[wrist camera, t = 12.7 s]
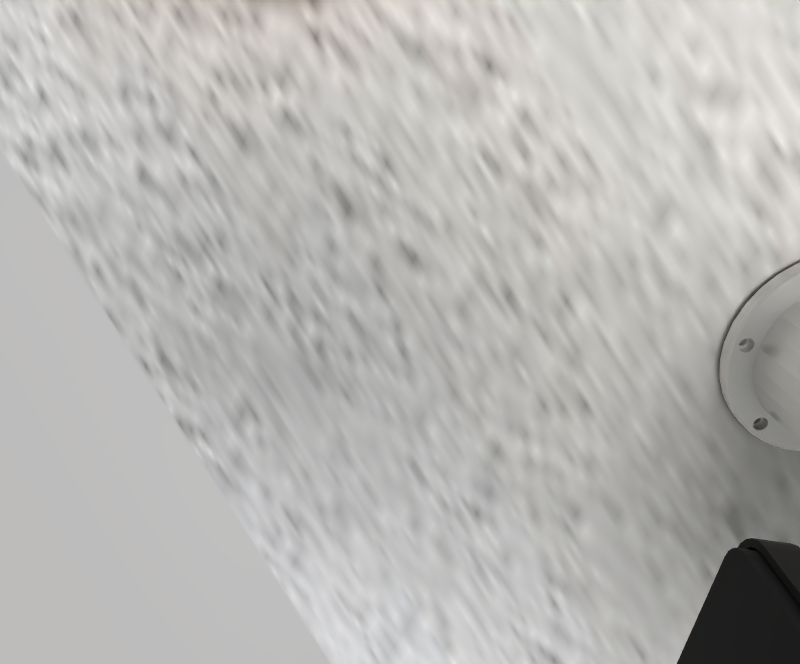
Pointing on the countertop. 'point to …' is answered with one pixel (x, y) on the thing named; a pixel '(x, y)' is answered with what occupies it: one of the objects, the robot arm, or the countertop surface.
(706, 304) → the countertop surface
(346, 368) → the countertop surface
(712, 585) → the robot arm
